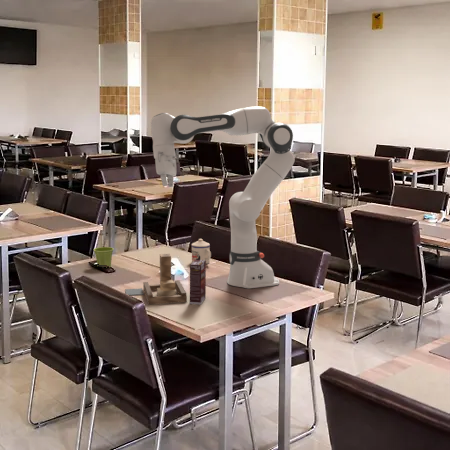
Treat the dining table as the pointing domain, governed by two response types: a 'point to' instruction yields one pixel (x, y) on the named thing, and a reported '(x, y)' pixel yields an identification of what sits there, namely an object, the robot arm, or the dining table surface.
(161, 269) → the slat
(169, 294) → the offcut low
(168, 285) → the offcut top
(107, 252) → the plant pot
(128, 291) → the mat
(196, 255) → the teacup with lid
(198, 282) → the supplement box
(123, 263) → the dining table surface
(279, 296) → the dining table surface
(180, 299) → the tray
